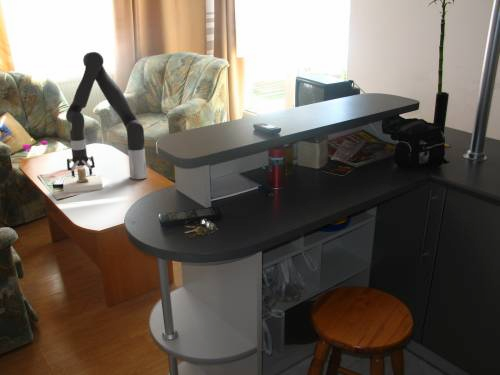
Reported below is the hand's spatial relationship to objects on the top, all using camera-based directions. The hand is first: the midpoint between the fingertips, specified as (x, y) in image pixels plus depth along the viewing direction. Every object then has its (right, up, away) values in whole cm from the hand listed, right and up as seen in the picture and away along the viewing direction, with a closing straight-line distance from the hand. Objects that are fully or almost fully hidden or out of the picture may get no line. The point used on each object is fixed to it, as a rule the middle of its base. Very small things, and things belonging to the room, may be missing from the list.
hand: (82, 176), depth 273 cm
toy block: (-53, +16, +65) cm, 85 cm away
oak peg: (0, -6, +2) cm, 6 cm away
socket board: (0, -6, +2) cm, 6 cm away
